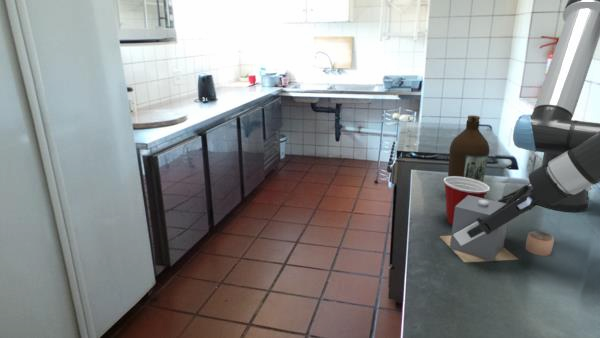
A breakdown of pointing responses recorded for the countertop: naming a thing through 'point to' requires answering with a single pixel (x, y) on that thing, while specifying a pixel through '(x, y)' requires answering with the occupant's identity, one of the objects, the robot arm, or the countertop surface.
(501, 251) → the oak board
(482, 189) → the plastic cup
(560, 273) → the countertop surface
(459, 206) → the grey knobbed cube
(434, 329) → the countertop surface
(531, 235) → the terracotta pot
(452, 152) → the brown glass bottle shape
